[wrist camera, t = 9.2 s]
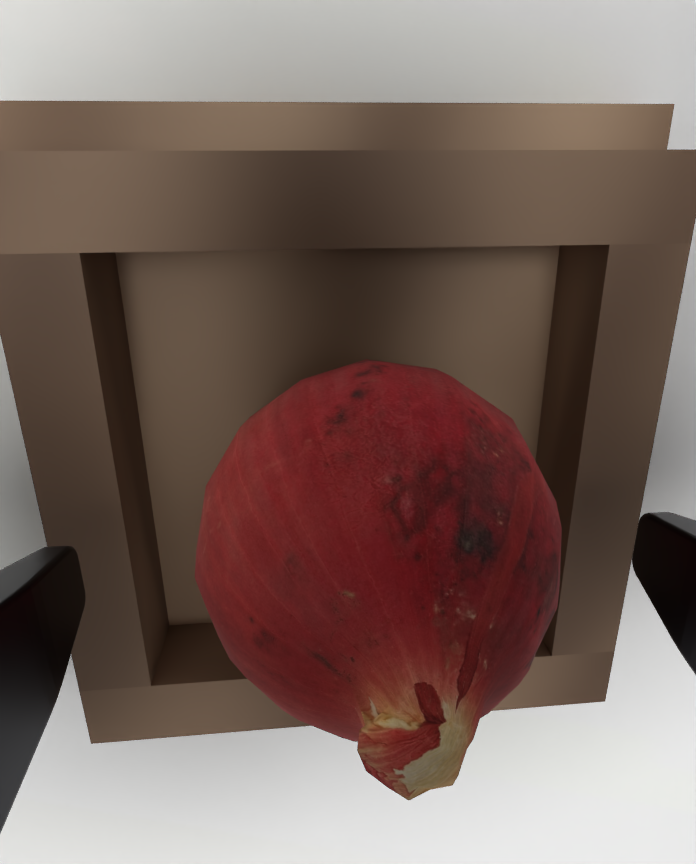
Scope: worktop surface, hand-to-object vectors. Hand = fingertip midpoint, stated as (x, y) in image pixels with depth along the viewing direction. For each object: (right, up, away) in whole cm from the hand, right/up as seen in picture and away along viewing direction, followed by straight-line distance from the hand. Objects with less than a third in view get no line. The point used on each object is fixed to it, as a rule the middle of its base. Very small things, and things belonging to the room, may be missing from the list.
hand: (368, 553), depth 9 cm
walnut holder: (0, +2, +5) cm, 5 cm away
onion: (0, +2, +4) cm, 5 cm away
